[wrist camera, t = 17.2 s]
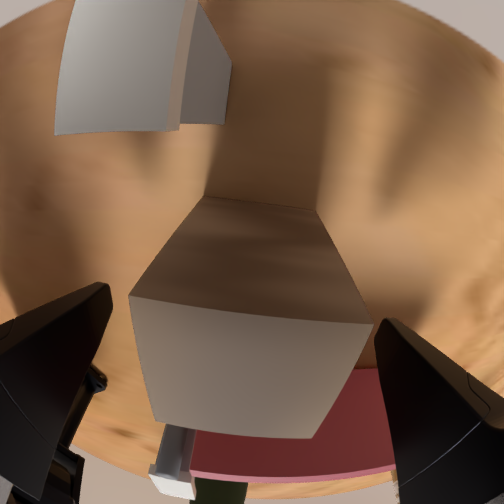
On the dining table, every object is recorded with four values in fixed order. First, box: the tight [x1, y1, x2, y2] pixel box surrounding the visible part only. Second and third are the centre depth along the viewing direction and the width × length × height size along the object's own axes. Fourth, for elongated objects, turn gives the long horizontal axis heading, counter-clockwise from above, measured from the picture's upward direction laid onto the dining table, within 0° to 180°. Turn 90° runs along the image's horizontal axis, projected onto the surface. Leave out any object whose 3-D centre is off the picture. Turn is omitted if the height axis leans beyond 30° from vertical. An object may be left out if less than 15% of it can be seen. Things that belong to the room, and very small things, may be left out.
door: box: [189, 368, 396, 483], centre depth 12 cm, size 11×2×6 cm, turn 86°
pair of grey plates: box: [54, 0, 232, 500], centre depth 10 cm, size 20×2×7 cm, turn 173°
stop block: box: [128, 196, 374, 439], centre depth 9 cm, size 4×4×7 cm
